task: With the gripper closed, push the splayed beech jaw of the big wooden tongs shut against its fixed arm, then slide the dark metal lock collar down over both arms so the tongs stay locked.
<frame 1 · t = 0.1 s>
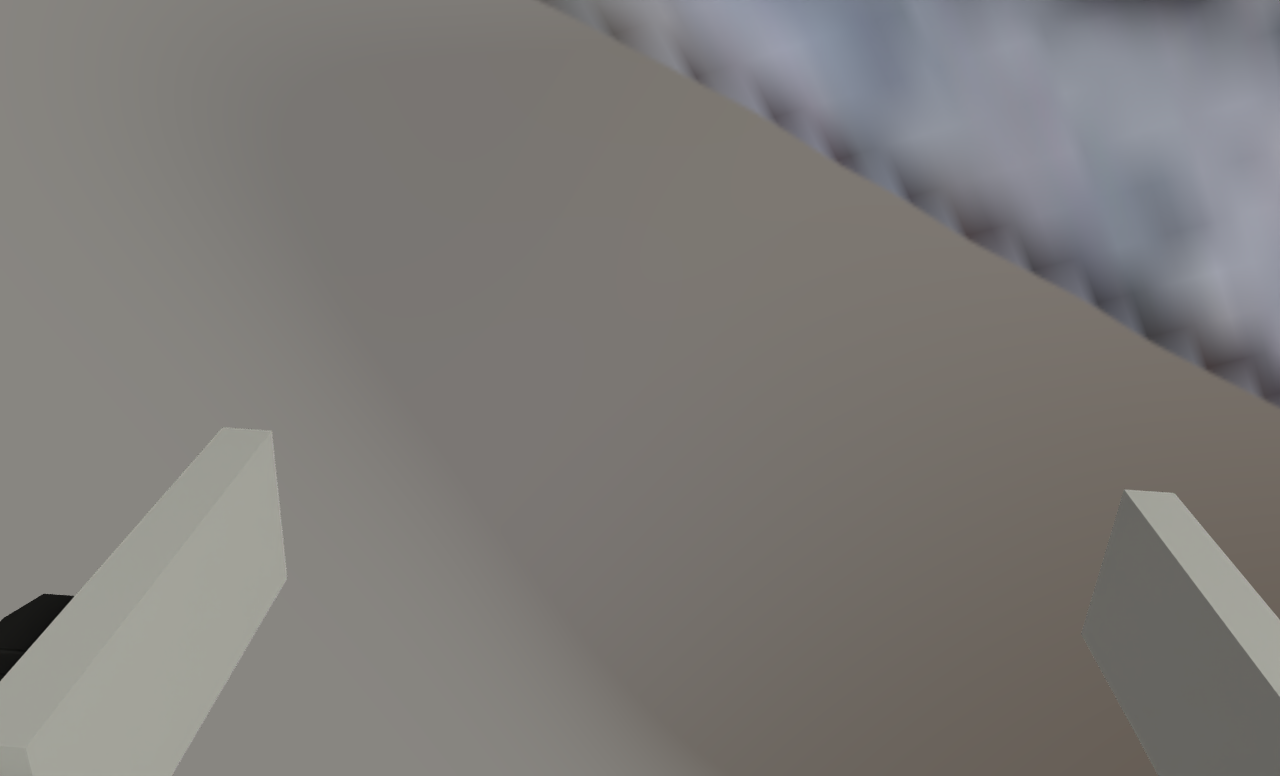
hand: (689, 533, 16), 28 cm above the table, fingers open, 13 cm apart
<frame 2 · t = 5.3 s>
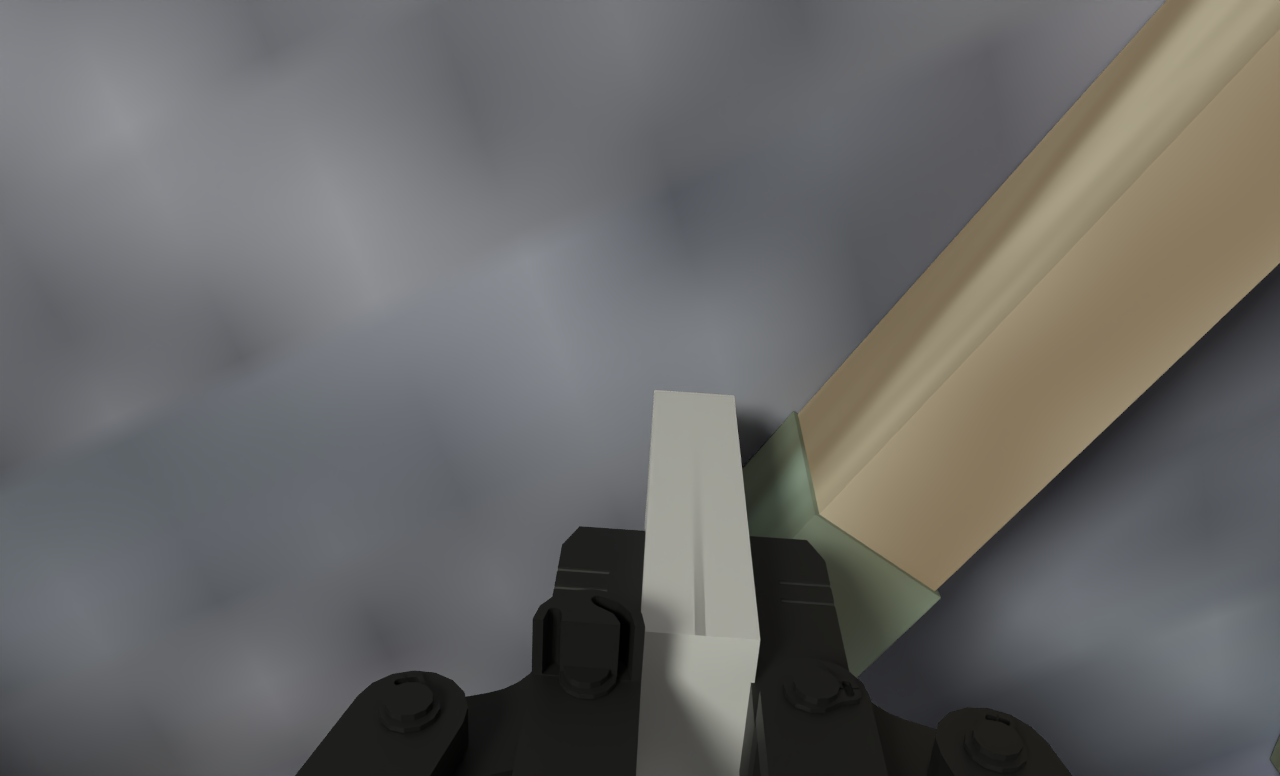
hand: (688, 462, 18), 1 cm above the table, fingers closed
tongs jaw: (1155, 275, 16), point 2 cm above the table, hinge at -32.1°, touching gripper
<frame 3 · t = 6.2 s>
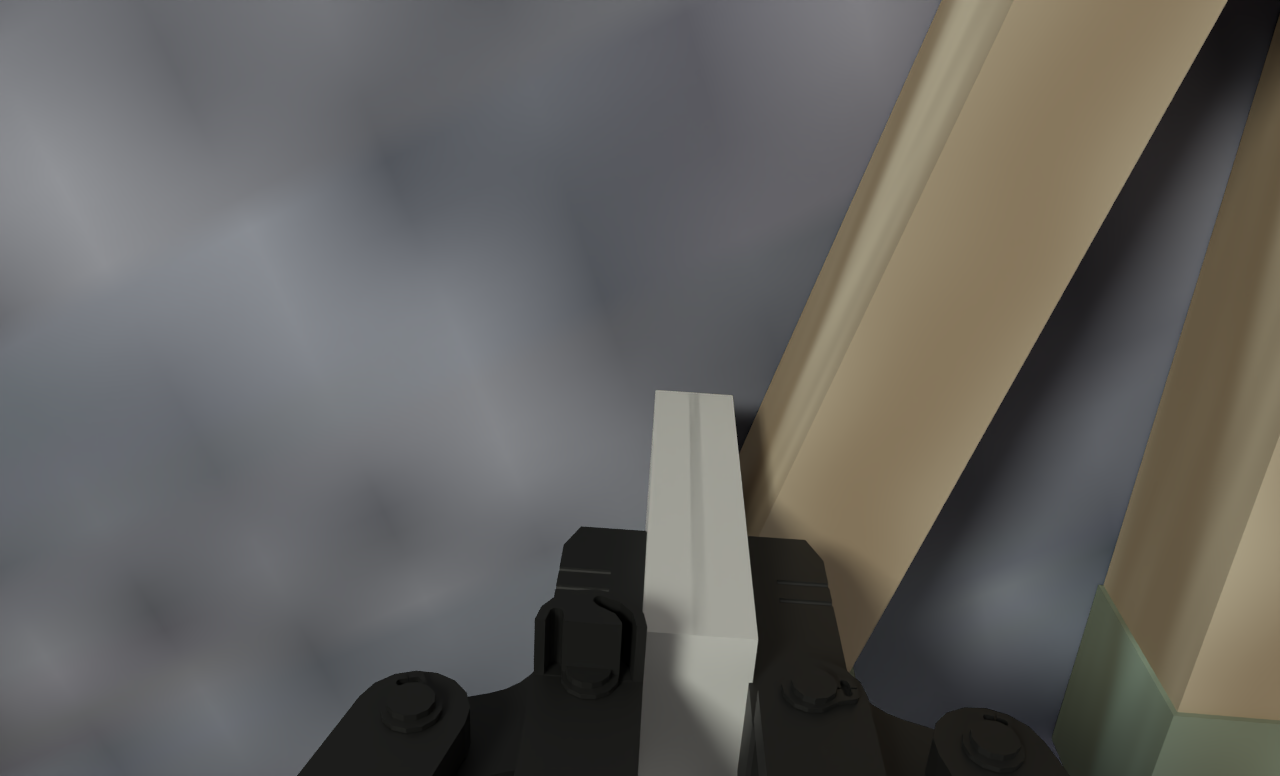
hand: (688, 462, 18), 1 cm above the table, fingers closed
tongs jaw: (964, 334, 16), point 2 cm above the table, hinge at -15.6°, touching gripper
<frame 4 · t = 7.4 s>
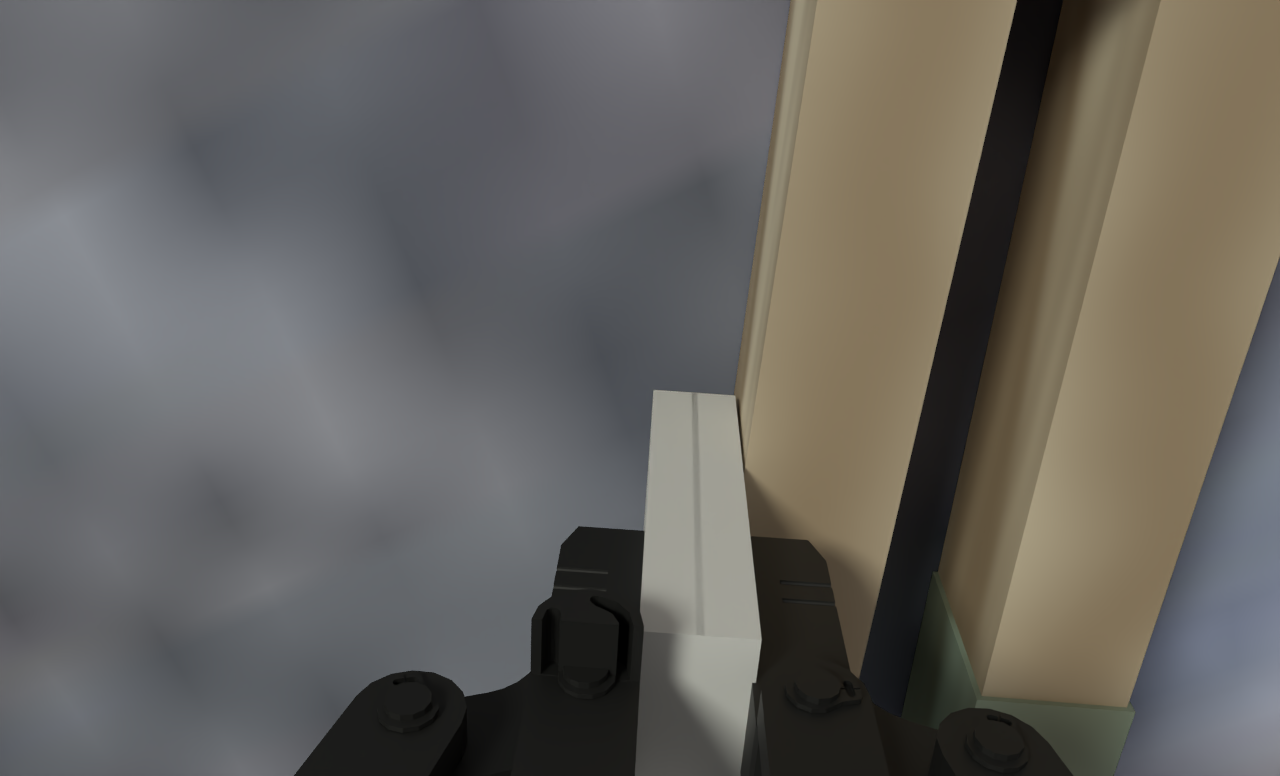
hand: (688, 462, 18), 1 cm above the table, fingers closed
tongs jaw: (877, 363, 16), point 2 cm above the table, hinge at -1.9°, touching gripper
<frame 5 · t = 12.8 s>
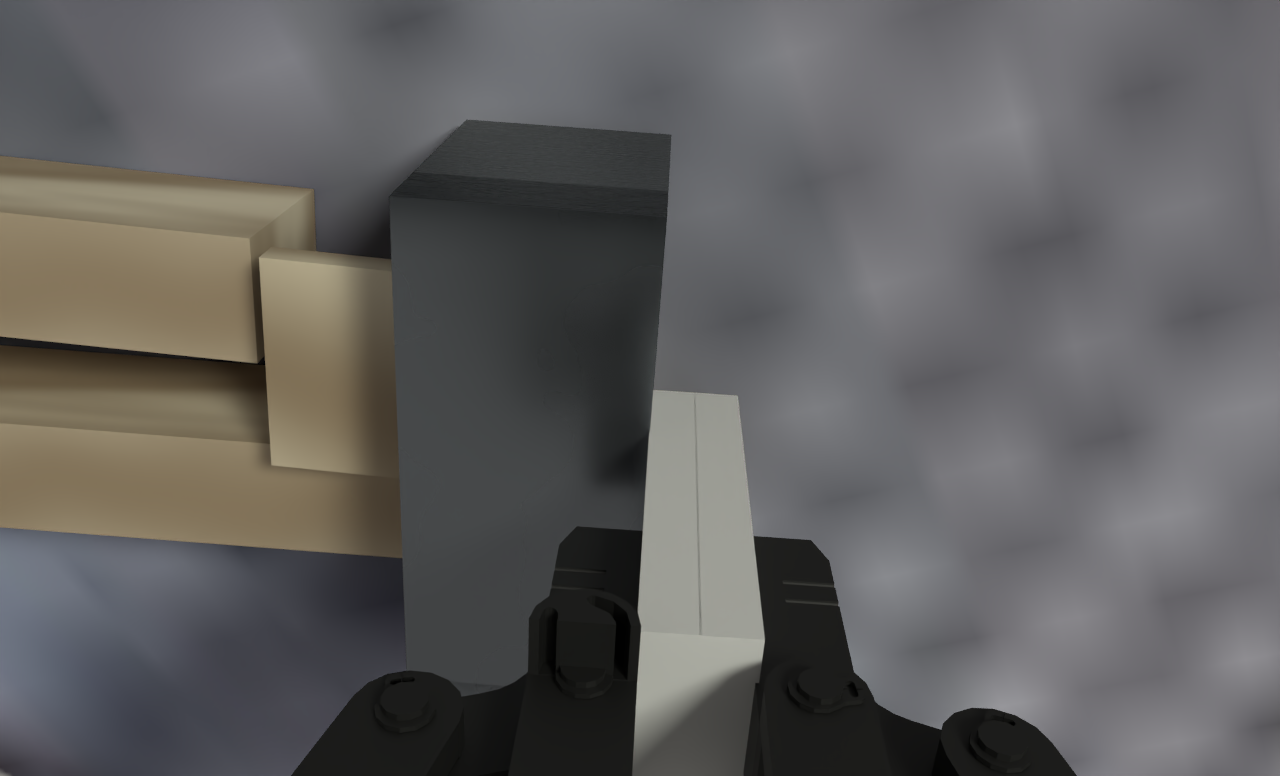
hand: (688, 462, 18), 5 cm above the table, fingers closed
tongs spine: (432, 344, 23), on the table
lock collar: (543, 414, 20), point 3 cm above the table, slide at 1.2 cm, touching gripper
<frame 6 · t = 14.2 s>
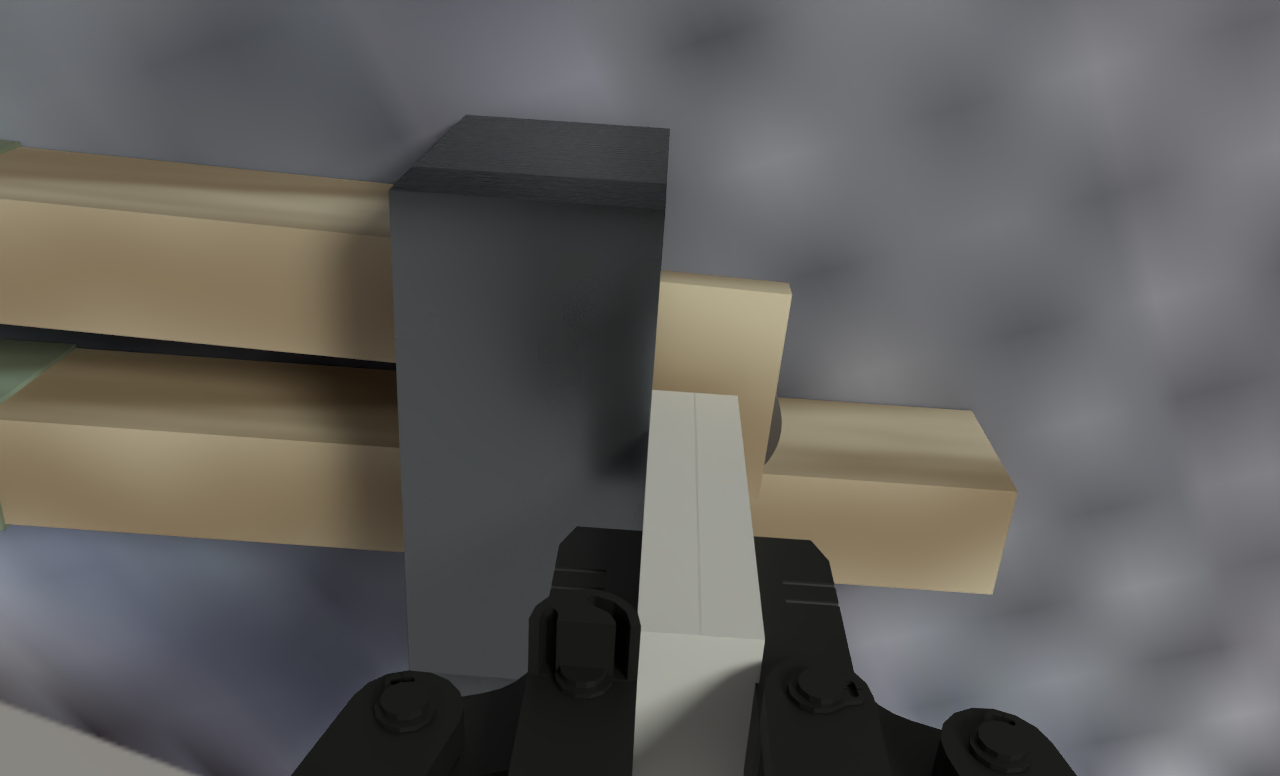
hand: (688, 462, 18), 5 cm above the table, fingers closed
tongs jaw: (267, 300, 20), point 2 cm above the table, hinge at -1.8°
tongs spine: (704, 359, 23), on the table
lock collar: (544, 408, 20), point 3 cm above the table, slide at 7.1 cm, touching gripper
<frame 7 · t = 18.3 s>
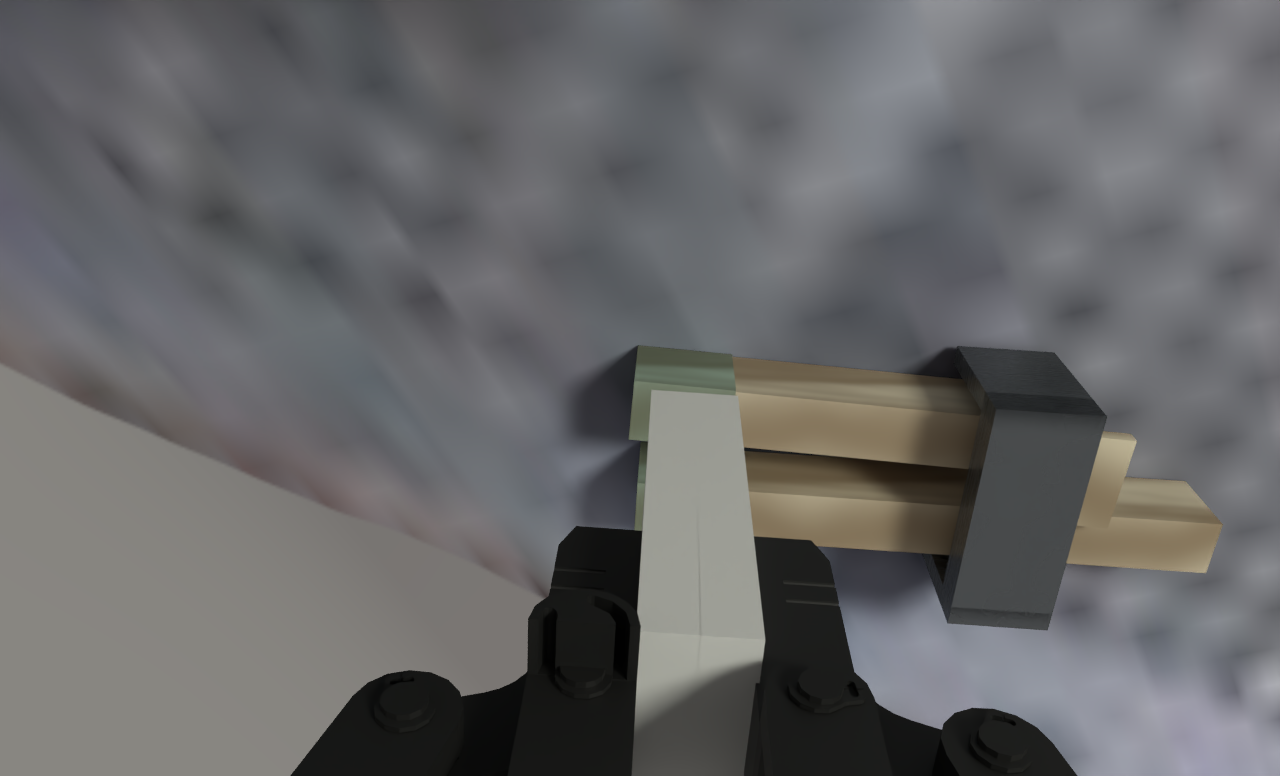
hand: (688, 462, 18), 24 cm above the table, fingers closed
tongs jaw: (866, 434, 43), point 2 cm above the table, hinge at -1.8°
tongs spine: (1052, 455, 45), on the table
lock collar: (1001, 486, 42), point 3 cm above the table, slide at 7.2 cm
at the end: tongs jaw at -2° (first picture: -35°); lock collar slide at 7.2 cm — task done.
